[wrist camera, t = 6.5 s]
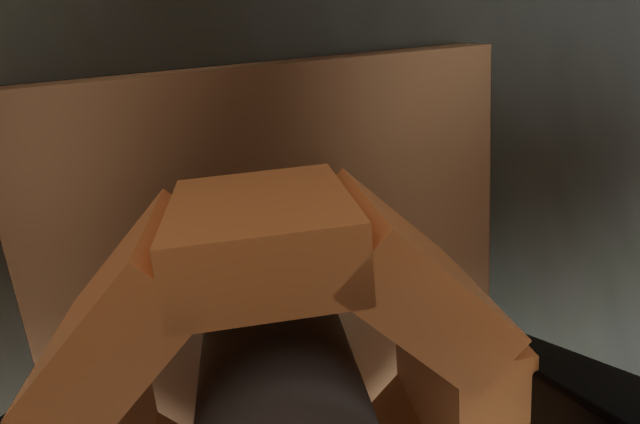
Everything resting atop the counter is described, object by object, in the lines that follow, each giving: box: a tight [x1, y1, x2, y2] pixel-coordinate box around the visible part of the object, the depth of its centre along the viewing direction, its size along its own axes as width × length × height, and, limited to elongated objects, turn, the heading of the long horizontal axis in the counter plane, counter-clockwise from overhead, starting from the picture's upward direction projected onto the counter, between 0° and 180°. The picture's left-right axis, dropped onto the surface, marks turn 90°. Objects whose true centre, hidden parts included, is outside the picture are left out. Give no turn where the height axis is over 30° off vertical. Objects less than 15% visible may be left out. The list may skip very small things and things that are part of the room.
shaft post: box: [0, 43, 491, 424], centre depth 9 cm, size 9×9×8 cm
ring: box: [0, 164, 539, 424], centre depth 8 cm, size 6×6×3 cm
